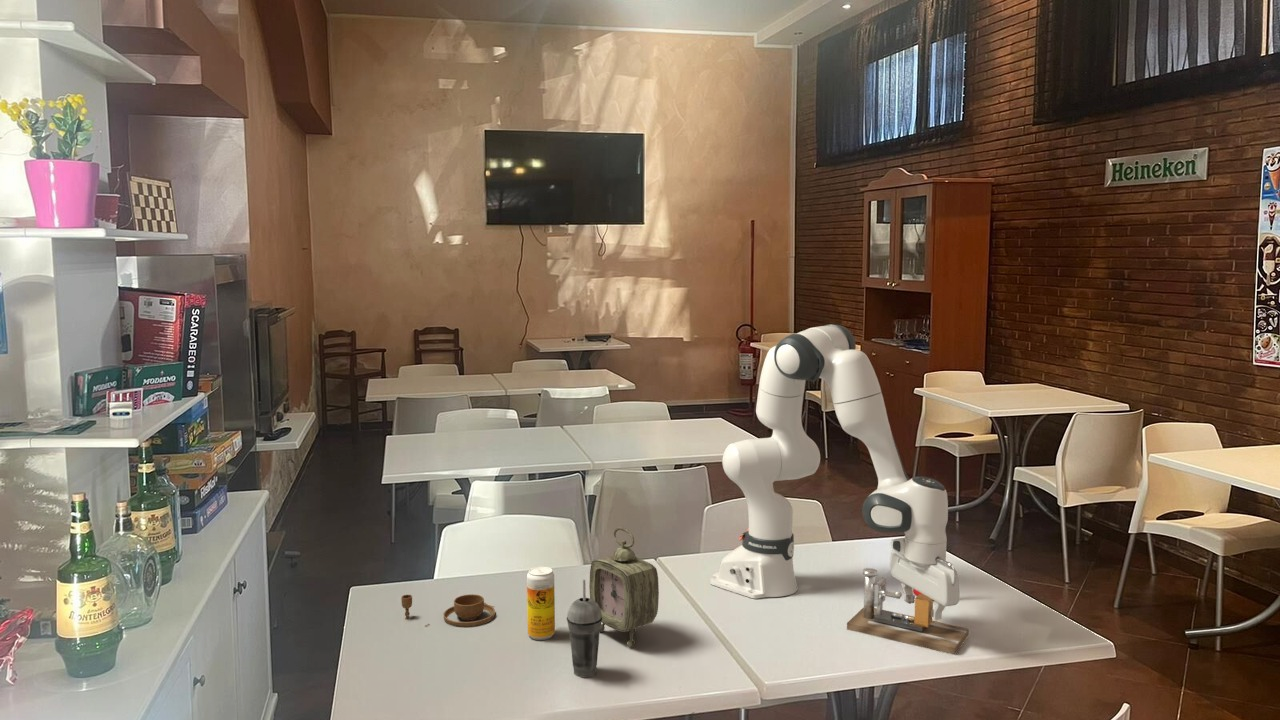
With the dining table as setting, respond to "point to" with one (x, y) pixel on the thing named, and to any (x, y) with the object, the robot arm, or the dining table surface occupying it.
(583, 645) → the beverage cup
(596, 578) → the tabletop clock
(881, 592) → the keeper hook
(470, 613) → the place setting
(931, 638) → the board
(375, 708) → the dining table surface
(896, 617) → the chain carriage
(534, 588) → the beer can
